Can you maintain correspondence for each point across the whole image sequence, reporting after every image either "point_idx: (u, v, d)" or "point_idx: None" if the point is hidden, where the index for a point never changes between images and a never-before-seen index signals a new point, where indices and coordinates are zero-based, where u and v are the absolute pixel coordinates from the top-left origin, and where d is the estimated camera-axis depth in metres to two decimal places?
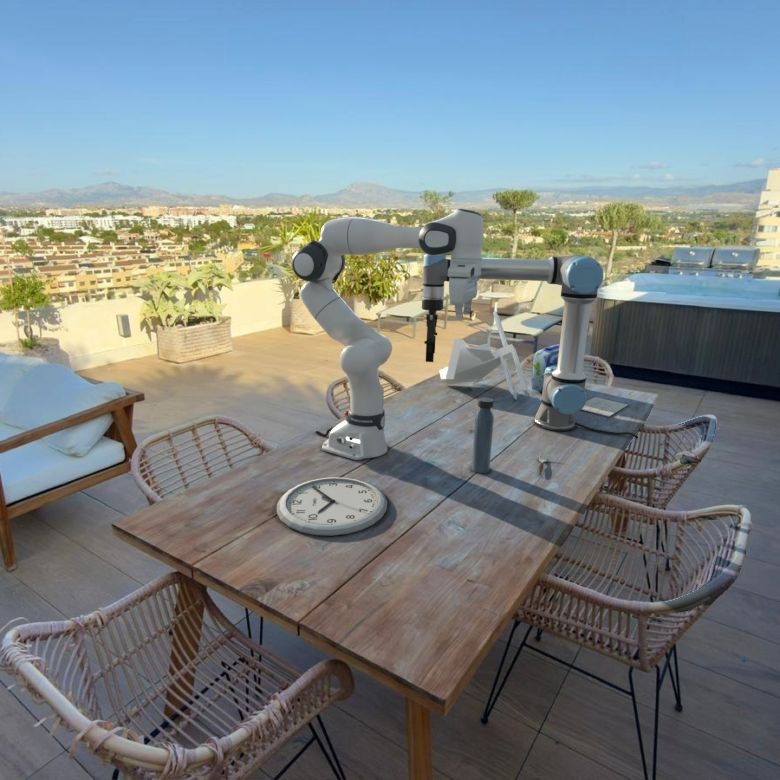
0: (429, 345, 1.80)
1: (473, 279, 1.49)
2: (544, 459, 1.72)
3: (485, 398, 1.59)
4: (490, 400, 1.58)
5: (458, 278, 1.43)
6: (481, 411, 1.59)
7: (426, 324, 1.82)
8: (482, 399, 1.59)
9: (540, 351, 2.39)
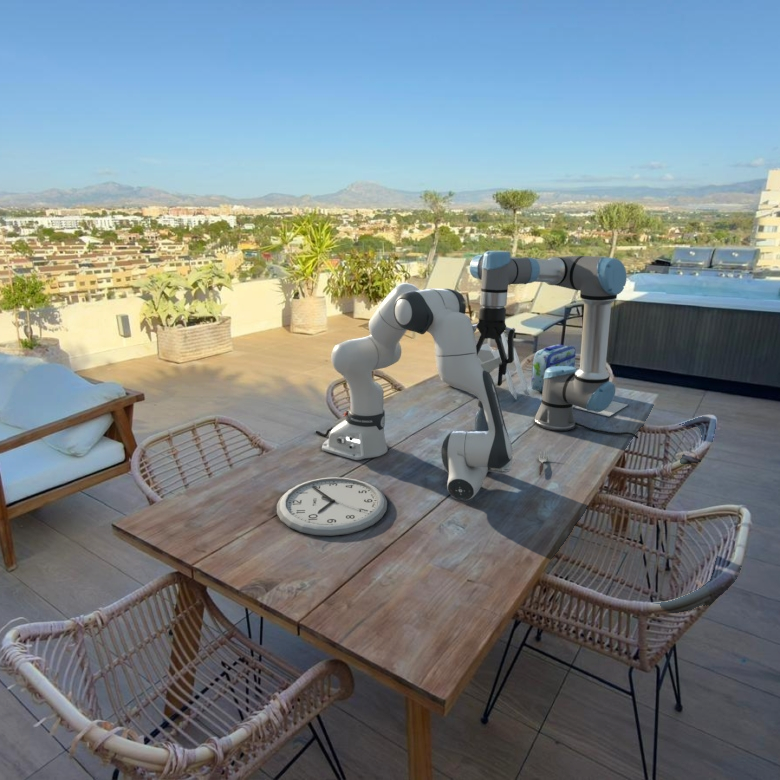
0: None
1: None
2: (544, 459, 1.72)
3: None
4: None
5: None
6: (481, 411, 1.59)
7: None
8: None
9: (540, 351, 2.39)
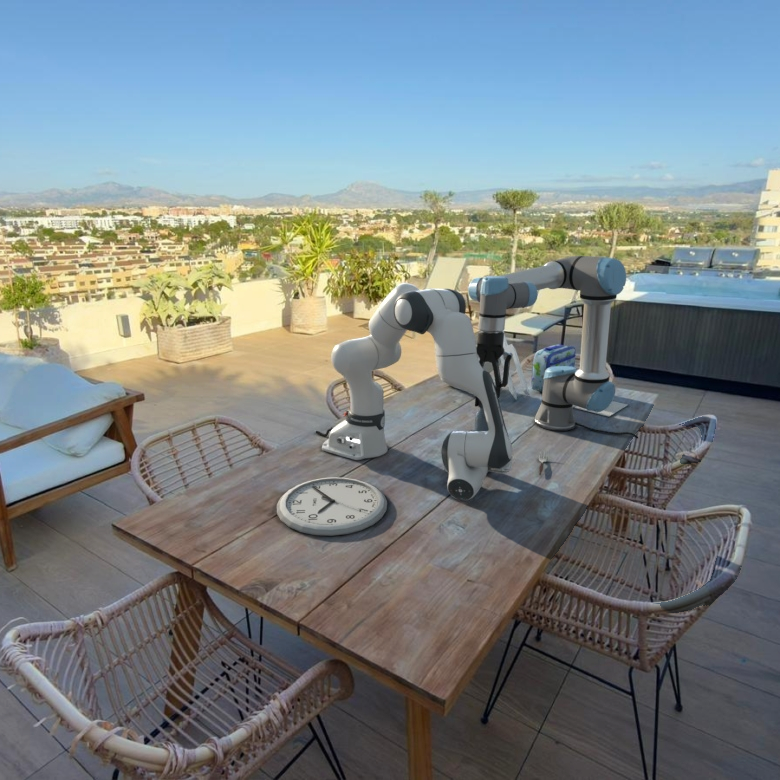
0: None
1: None
2: (544, 459, 1.72)
3: None
4: None
5: None
6: (481, 411, 1.59)
7: None
8: None
9: (540, 351, 2.39)
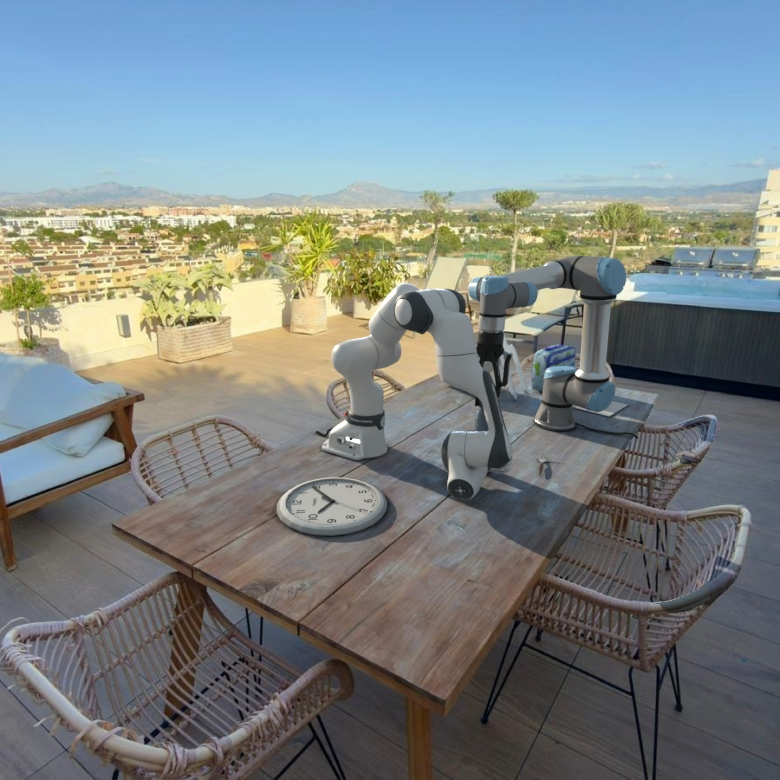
0: None
1: None
2: (544, 459, 1.72)
3: None
4: None
5: None
6: (481, 411, 1.59)
7: None
8: None
9: (540, 351, 2.39)
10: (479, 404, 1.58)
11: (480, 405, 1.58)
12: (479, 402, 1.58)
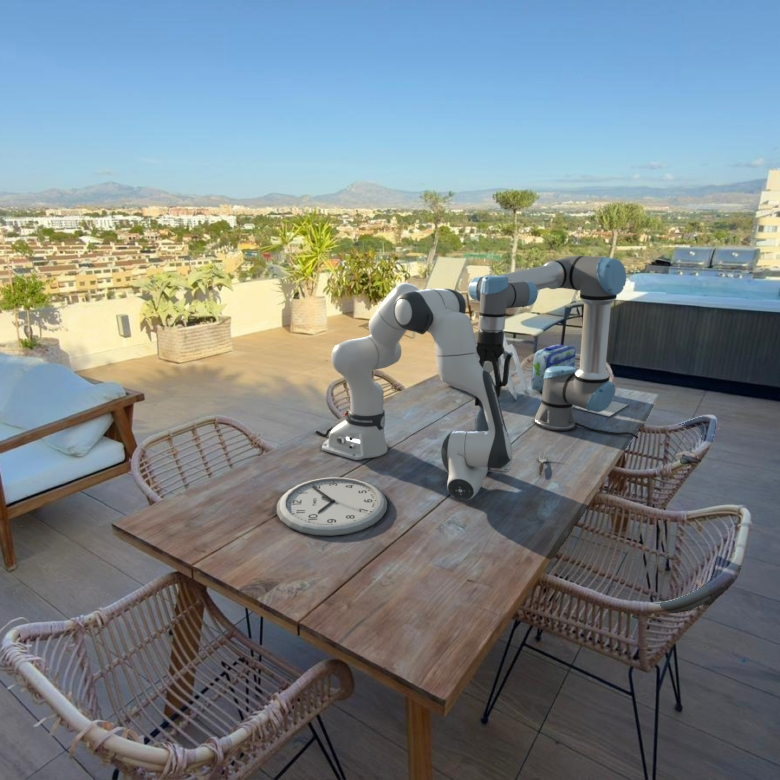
0: None
1: None
2: (544, 459, 1.72)
3: None
4: None
5: None
6: (481, 411, 1.59)
7: None
8: None
9: (540, 351, 2.39)
10: None
11: None
12: None
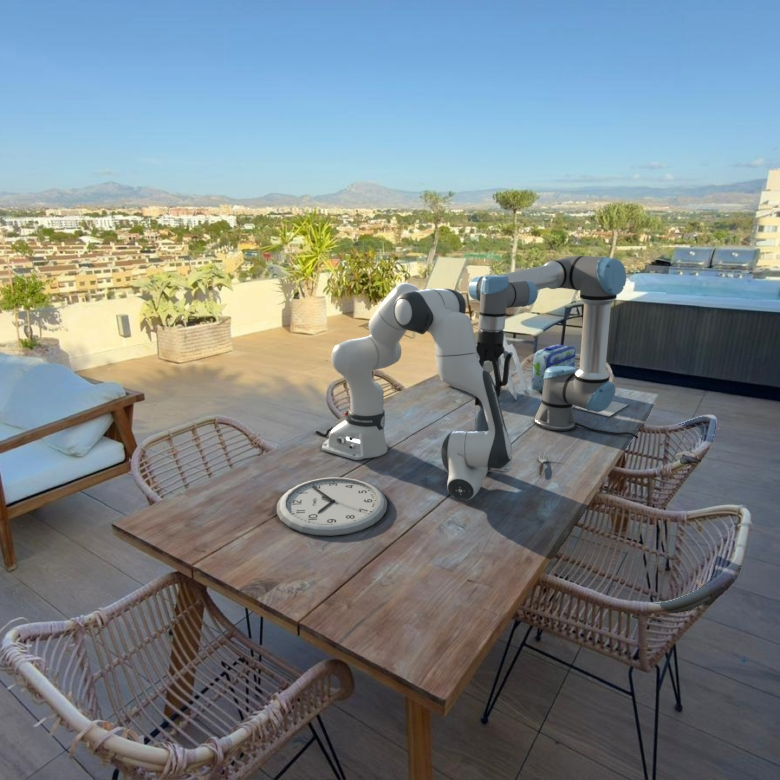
0: None
1: None
2: (544, 459, 1.72)
3: None
4: None
5: None
6: (481, 411, 1.59)
7: None
8: None
9: (540, 351, 2.39)
10: None
11: None
12: None
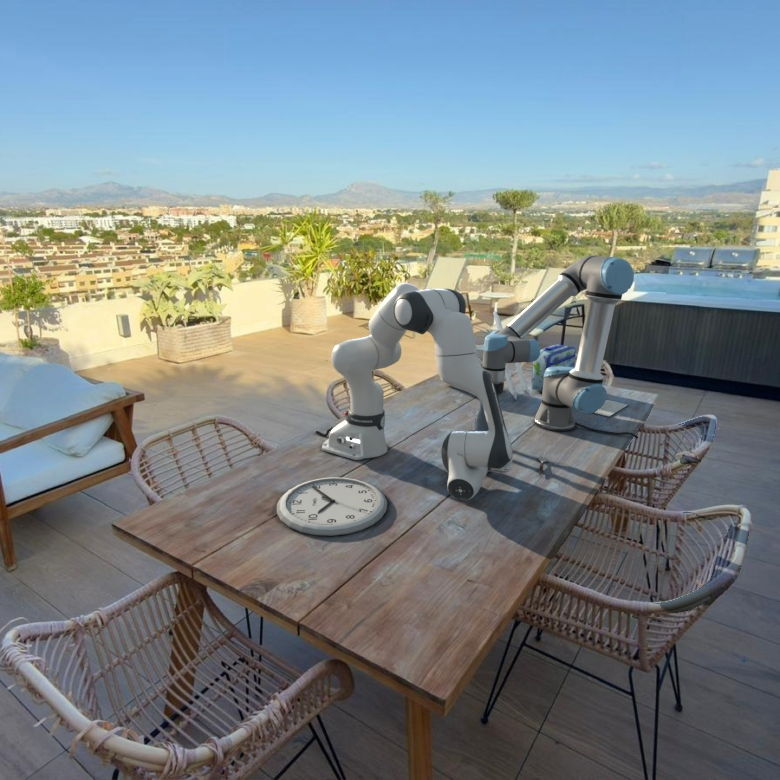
0: None
1: None
2: (544, 459, 1.72)
3: None
4: None
5: None
6: (481, 411, 1.59)
7: None
8: None
9: (540, 351, 2.39)
10: None
11: None
12: None
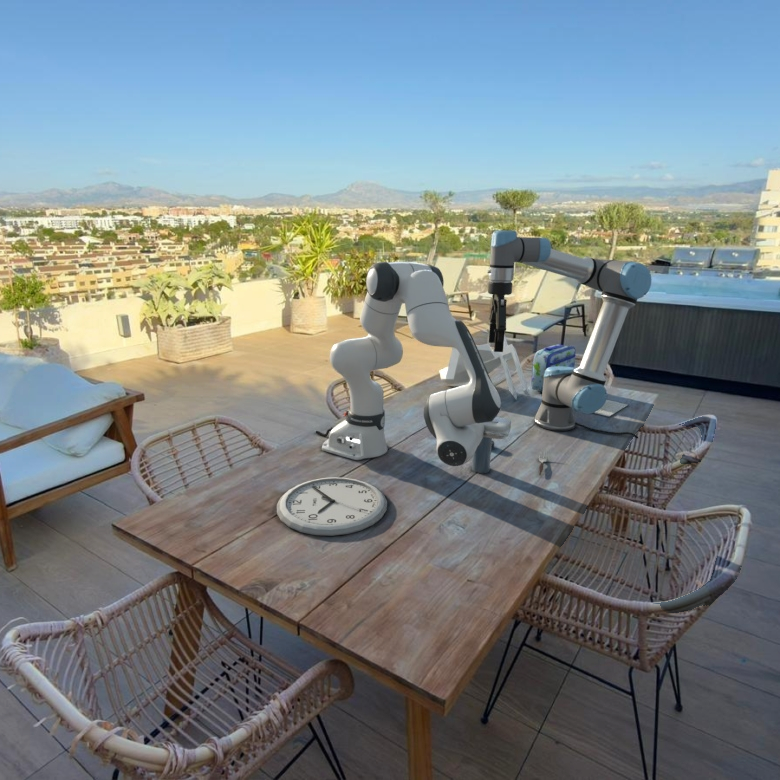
0: (500, 333, 1.62)
1: None
2: (544, 459, 1.72)
3: None
4: None
5: None
6: None
7: (494, 310, 1.64)
8: None
9: (540, 351, 2.39)
10: None
11: None
12: None
